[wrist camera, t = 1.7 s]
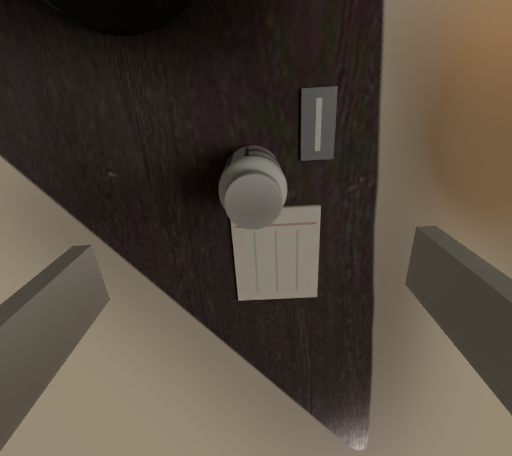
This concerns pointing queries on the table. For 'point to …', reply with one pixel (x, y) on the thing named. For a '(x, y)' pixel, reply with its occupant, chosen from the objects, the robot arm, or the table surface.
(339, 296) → the table surface
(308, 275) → the paper
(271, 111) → the table surface
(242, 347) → the table surface
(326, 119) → the grey striped flat block
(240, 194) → the pill bottle
